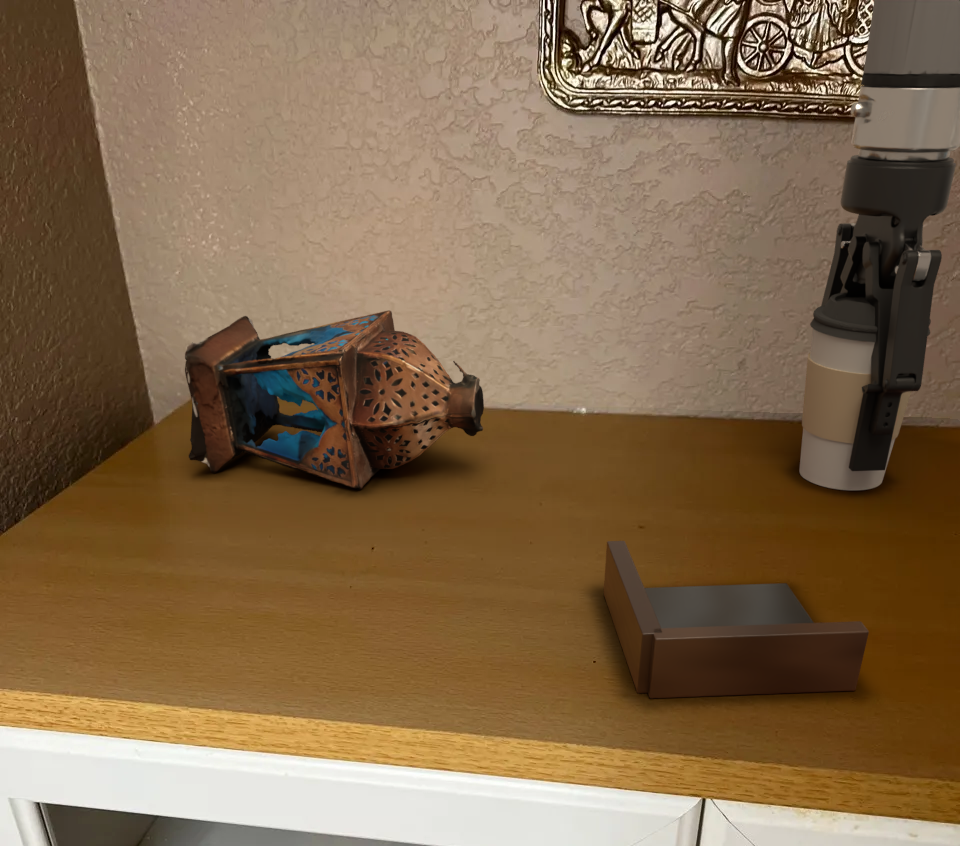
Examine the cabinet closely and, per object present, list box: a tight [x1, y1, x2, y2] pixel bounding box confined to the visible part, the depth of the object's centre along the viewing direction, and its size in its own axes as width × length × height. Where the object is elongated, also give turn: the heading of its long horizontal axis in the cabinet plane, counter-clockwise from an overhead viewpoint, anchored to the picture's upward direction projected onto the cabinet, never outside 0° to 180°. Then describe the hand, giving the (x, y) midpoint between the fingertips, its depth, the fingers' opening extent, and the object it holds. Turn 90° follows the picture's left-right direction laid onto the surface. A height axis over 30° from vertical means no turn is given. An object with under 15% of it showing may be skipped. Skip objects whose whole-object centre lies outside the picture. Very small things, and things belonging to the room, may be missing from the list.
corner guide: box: [603, 540, 870, 699], centre depth 60 cm, size 13×13×4 cm
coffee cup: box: [798, 293, 932, 491], centre depth 81 cm, size 9×9×15 cm
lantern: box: [184, 310, 485, 490], centre depth 85 cm, size 16×16×25 cm
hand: (845, 448), depth 83 cm, fingers closed on coffee cup, 9 cm apart
